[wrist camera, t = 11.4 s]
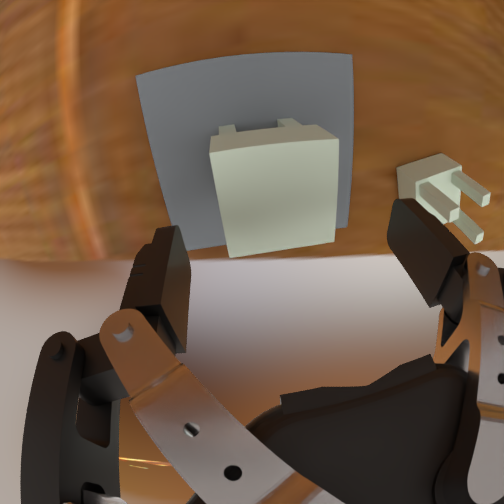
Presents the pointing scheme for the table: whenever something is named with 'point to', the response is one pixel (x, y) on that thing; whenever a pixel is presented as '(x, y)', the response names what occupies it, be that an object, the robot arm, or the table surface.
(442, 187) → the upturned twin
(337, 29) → the table surface
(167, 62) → the table surface
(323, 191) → the cube with twin tabs
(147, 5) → the table surface
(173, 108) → the mat
